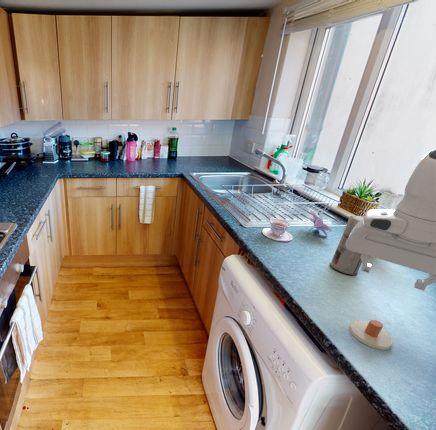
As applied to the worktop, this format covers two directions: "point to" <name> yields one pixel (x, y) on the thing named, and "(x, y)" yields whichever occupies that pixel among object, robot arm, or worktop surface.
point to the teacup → (278, 230)
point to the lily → (319, 224)
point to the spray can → (347, 251)
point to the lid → (371, 334)
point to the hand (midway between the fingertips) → (390, 279)
